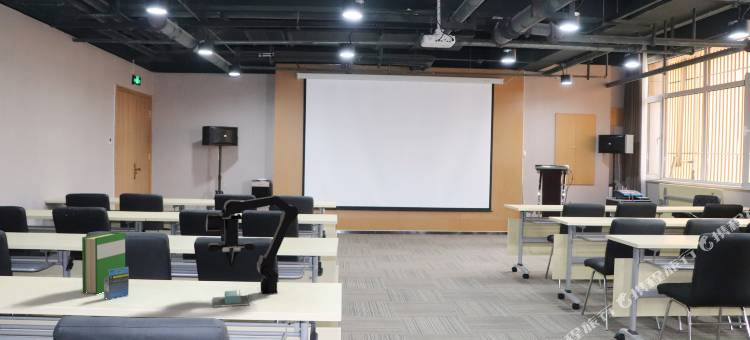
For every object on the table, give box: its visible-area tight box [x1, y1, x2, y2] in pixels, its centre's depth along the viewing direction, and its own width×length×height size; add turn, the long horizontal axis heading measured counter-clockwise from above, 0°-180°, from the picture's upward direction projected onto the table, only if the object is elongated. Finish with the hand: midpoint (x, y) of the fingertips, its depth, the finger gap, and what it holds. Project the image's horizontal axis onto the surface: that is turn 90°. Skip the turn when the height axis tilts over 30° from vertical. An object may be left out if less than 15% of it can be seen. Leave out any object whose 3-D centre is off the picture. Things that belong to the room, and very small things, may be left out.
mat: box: [212, 294, 251, 308], centre depth 239 cm, size 14×15×1 cm
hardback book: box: [81, 231, 126, 295], centre depth 257 cm, size 18×7×24 cm, turn 165°
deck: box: [224, 289, 242, 304], centre depth 239 cm, size 3×9×6 cm
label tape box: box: [103, 266, 130, 300], centre depth 245 cm, size 9×4×12 cm, turn 145°
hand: (231, 267), depth 249 cm, fingers closed
